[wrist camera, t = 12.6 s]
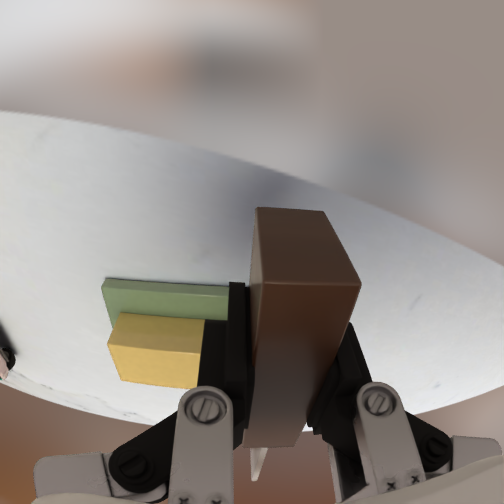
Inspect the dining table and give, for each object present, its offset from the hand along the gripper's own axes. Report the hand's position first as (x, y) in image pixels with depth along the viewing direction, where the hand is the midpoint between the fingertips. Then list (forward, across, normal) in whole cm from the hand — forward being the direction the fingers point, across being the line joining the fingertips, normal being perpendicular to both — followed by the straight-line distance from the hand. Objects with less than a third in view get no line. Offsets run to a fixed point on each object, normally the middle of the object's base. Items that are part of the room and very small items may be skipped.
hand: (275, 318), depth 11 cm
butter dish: (+8, +2, +8) cm, 12 cm away
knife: (0, 0, +3) cm, 3 cm away
